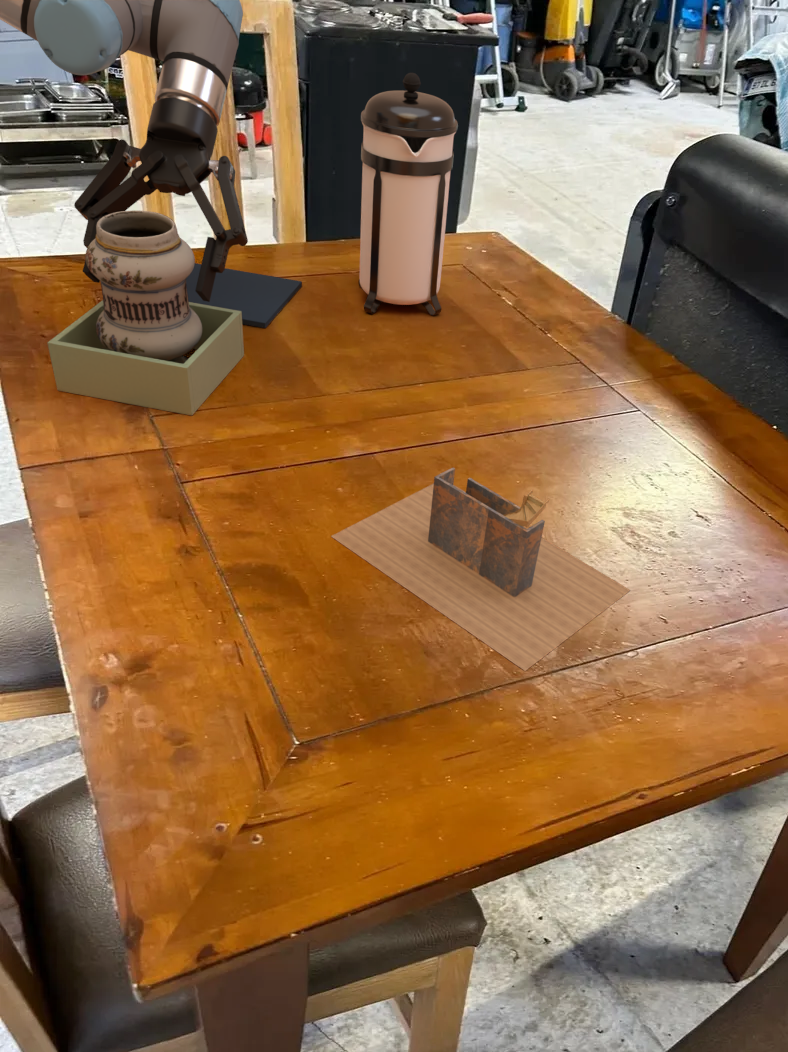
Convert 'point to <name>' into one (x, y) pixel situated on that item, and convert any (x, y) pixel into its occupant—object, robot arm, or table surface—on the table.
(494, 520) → the architectural model on board
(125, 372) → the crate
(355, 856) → the table surface
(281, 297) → the mat
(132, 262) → the apothecary jar
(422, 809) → the table surface
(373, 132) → the coffee press
